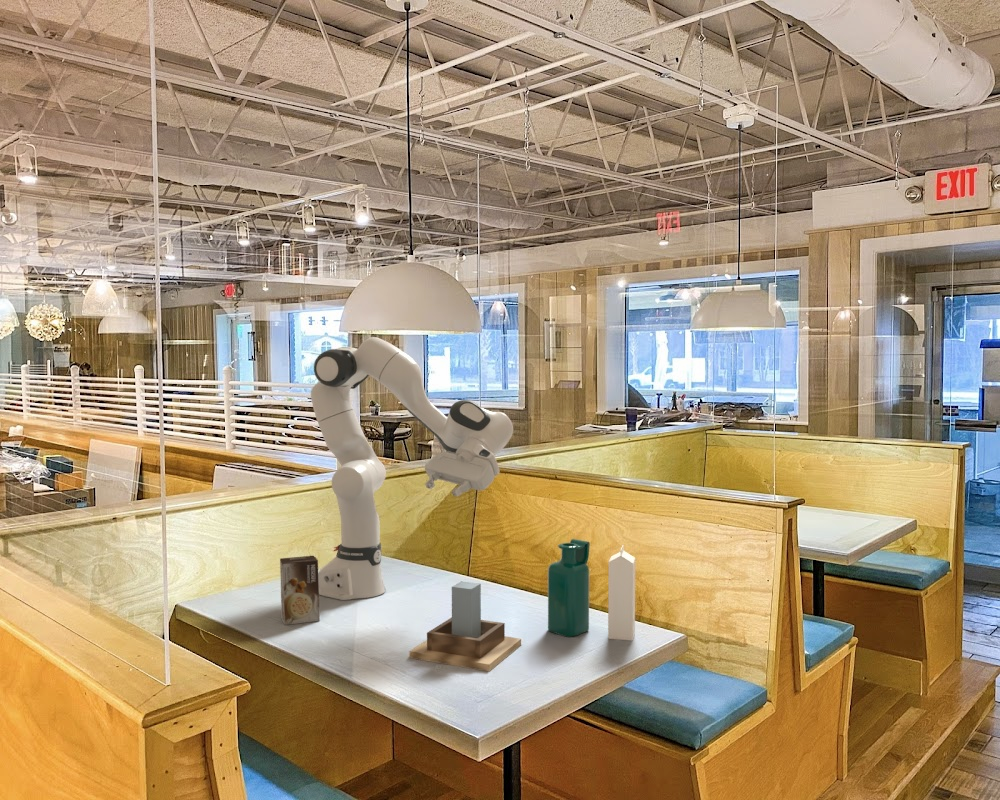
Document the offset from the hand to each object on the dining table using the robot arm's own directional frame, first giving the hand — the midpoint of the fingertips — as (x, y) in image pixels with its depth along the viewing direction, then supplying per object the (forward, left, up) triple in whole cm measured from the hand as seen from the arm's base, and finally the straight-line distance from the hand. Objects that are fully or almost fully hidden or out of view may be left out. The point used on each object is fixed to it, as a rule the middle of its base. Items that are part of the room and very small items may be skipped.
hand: (441, 490), depth 208 cm
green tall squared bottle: (+33, +6, -34) cm, 48 cm away
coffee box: (-34, -15, -34) cm, 50 cm away
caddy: (+16, -18, -34) cm, 42 cm away
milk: (+46, +7, -34) cm, 58 cm away
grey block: (+16, -18, -32) cm, 40 cm away
